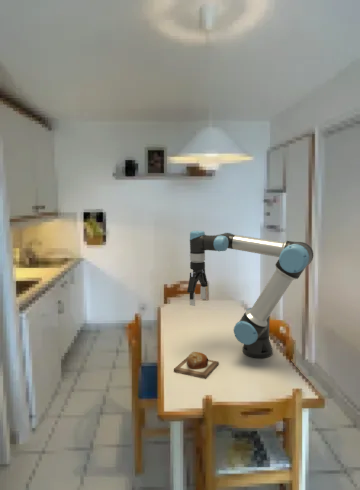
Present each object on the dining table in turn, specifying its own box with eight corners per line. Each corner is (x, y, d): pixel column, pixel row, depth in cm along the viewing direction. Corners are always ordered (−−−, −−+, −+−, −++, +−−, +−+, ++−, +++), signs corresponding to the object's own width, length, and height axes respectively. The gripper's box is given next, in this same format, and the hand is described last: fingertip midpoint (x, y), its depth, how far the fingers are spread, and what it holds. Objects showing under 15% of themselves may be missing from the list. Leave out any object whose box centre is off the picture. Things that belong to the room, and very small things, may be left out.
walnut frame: (218, 364, 181) (218, 361, 181) (205, 378, 167) (205, 375, 167) (188, 358, 188) (188, 355, 188) (173, 372, 174) (173, 368, 174)
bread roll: (189, 367, 182) (182, 353, 181) (208, 358, 183) (201, 344, 182) (191, 377, 173) (184, 362, 172) (211, 367, 173) (204, 352, 172)
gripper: (200, 257, 204) (201, 295, 206) (179, 264, 181) (180, 307, 184) (213, 258, 200) (213, 297, 203) (194, 265, 178) (194, 309, 181)
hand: (198, 302), depth 193 cm, fingers open, 13 cm apart
